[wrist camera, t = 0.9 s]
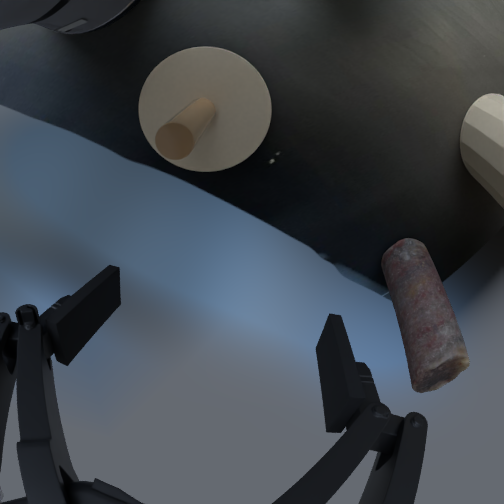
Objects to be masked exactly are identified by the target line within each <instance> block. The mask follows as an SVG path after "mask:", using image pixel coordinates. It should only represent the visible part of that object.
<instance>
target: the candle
mask: <svg viewBox="0 0 504 504" xmlns="http://www.w3.org/2000/svg"><path fill="white" fill-rule="evenodd" d="M381 266H382V270H383V273H384V276H385V280H386V283H387V286H388V289H389V293H390V296H391V299H392V302H393V306H394V309H395V312H396V316H397V320H398V324H399V327H400V331H401V336H402V339H403V344H404V348H405V353H406V357H407V362H408V368H409V373H410V378H411V384H412V388H413V390H414V391H416V392H420V393H423V392H427V391H432V390H437V389H439V388H440V387H442V386H444V385H445V384H447V383H448V382H450V381H452V380H453V379H455V378H456V377H457V376H458V375H459V374H460V372H462V371H464V370H466V369H467V367H468V366H469V362H470V361H469V357H468V354H467V350H466V346H465V343H464V340H463V337H462V334H461V331H460V329H459V326H458V323H457V320H456V317H455V314H454V311H453V309H452V306H451V304H450V302H449V299H448V297H447V294H446V292H445V289H444V287H443V284H442V282H441V280H440V277H439V275H438V272H437V270H436V268H435V265H434V263H433V261H432V259H431V257H430V255H429V253H428V251H427V249H426V247H425V245H424V244H423V243H422V242H420V241H418V240H415V239H411V238H405V239H403V240H399V241H398V242H397V243H396V244H394V245H393V246H391V247H390V248H389V249H388V250H387V251H386V252H385V253H384V254H383V257H382V261H381Z"/></svg>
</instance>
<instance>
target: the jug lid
mask: <svg viewBox="0 0 504 504" xmlns="http://www.w3.org/2000/svg"><path fill="white" fill-rule="evenodd" d="M271 112H272V105H271V97H270V93H269V90H268V87H267V85H266V83H265V81H264V79H263V77H262V76H261V74H260V73H259V72H258V70H257V69H256V68H255V67H254V66H253V65H252V64H251V63H250V62H249V61H247V60H246V59H244V58H243V57H241V56H240V55H238V54H236V53H234V52H231V51H228V50H225V49H222V48H216V47H194V48H189V49H185V50H182V51H179V52H177V53H175V54H173V55H171V56H169V57H168V58H166V59H165V60H163V61H162V62H161V63H160V64H159V65H157V66H156V67H155V68H154V70H153V71H152V72H151V73H150V75H149V76H148V78H147V80H146V81H145V83H144V86H143V88H142V91H141V94H140V99H139V119H140V124H141V127H142V130H143V132H144V135H145V137H146V138H147V140H148V142H149V143H150V145H151V146H152V147H153V148H154V150H155V151H156V152H157V153H158V154H160V155H161V156H162V157H163V158H164V159H166V160H167V161H169V162H171V163H172V164H175V165H177V166H179V167H182V168H184V169H188V170H192V171H200V172H212V171H219V170H223V169H227V168H230V167H232V166H235V165H237V164H239V163H241V162H242V161H244V160H245V159H247V158H248V157H249V156H250V155H251V154H253V153H254V152H255V150H256V149H257V148H258V147H259V146H260V144H261V143H262V141H263V140H264V138H265V136H266V134H267V132H268V129H269V126H270V121H271Z"/></svg>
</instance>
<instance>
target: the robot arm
mask: <svg viewBox="0 0 504 504" xmlns="http://www.w3.org/2000/svg"><path fill="white" fill-rule="evenodd" d="M139 1H140V0H0V30H1V29H5V28H10V27H14V26H19V25H25V24H30V23H34V24H37V25H40V26H43V27H45V28H48V29H51V30H53V31H56V32H60V33H65V34H78V33H86V32H92V31H96V30H99V29H101V28H104V27H106V26H108V25H110V24H112V23H114V22H115V21H117V20H118V19H120V18H121V17H123V16H124V15H125V14H127V13H128V12H129V11H130V10H131V9H132V8H134V7H135V6H136V5H137V4H138V3H139ZM120 305H121V298H120V269H119V267H116V266H112V265H109V266H108V267H106V268H105V269H104V270H103V271H101V272H100V273H99V274H98V275H96V276H95V277H94V278H93V279H92V280H90V281H89V282H88V283H86V284H85V285H84V286H83V287H82V288H80V289H79V290H78V291H77V292H76V293H74V294H73V295H72V296H70V295H67V296H65V297H62V298H60V299H59V300H58V301H57V302H56V303H55V304H53V305H52V306H51V307H50V308H49V309H47V310H46V311H45V312H44V313H43V314H42V315H40V316H39V314H38V310H37V308H36V306H34V305H31V304H26V305H23V306H20V307H19V308H18V309H17V310H16V312H15V314H16V317H17V321H18V323H15V322H11V319H10V316H9V315H8V314H7V313H4V312H2V313H0V471H1V463H2V452H3V444H4V436H5V429H6V423H7V418H8V412H9V407H10V402H11V398H12V394H13V389H14V385H15V381H16V378H17V408H18V421H19V429H20V442H17V454H18V460H19V466H20V471H21V476H22V480H23V485H24V489H25V493H26V497H22V498H19V499H15V500H11V501H7V502H3V503H1V500H2V499H3V492H2V491H1V488H0V504H143V503H141V502H139V501H138V500H136V499H134V498H133V497H131V496H130V495H128V494H126V493H125V492H124V491H122V490H121V489H119V488H116V487H114V486H112V485H110V484H107V483H105V482H103V481H101V480H99V479H96V478H95V480H94V482H88V481H79V479H78V477H77V475H76V473H75V471H74V469H73V467H72V463H71V460H70V456H69V453H68V449H67V446H66V442H65V438H64V433H63V429H62V424H61V420H60V415H59V409H58V404H57V398H56V391H55V385H54V377H53V368H52V360H51V356H52V355H53V353H54V354H55V357H56V360H57V361H58V362H60V363H62V364H64V365H66V366H68V365H69V363H70V362H71V361H72V360H73V359H74V357H75V356H76V355H77V354H78V353H79V351H80V350H81V349H82V348H83V347H84V346H85V344H86V343H87V342H88V341H89V340H90V339H91V337H92V336H93V335H94V334H95V333H96V332H97V330H98V329H99V328H100V327H101V326H102V325H103V324H104V322H105V321H106V320H107V319H108V318H109V317H110V316H111V314H112V313H113V312H114V311H115V310H116V309H117V308H118V307H119V306H120ZM316 354H317V361H318V369H319V376H320V383H321V391H322V399H323V407H324V416H325V424H326V432H332V433H341V432H342V431H343V429H344V428H345V427H346V429H347V431H346V432H345V433H344V435H343V436H342V437H341V438H340V439H339V440H338V441H337V442H336V443H335V445H334V446H333V447H332V448H331V449H330V450H329V451H328V452H327V453H326V454H325V455H324V456H323V457H322V458H321V459H320V460H319V461H318V462H317V463H316V464H315V465H314V466H313V467H312V468H311V469H310V470H309V471H308V472H307V473H306V474H305V475H304V476H303V477H302V478H301V479H300V480H299V481H298V482H297V483H295V484H294V485H293V486H292V487H291V488H290V489H289V490H288V491H286V492H285V493H284V494H283V495H282V496H281V497H279V498H278V499H277V500H276V501H275V502H273V503H272V504H326V502H327V501H328V500H329V499H330V498H331V497H332V496H333V495H334V494H335V493H336V491H337V490H338V489H339V488H340V487H341V485H342V484H343V483H344V482H345V481H346V480H347V478H348V477H349V476H350V475H351V473H352V472H353V471H354V470H355V468H356V467H357V466H358V465H359V463H360V462H361V461H362V459H363V458H364V457H365V455H366V454H367V453H368V451H369V450H373V451H377V452H378V453H377V456H376V459H375V462H374V465H373V468H372V471H371V473H370V476H369V479H368V482H367V484H366V487H365V489H364V492H363V494H362V497H361V499H360V502H359V504H414V500H415V496H416V492H417V488H418V483H419V479H420V474H421V469H422V463H423V457H424V451H425V444H426V436H427V427H428V424H427V421H426V418H425V417H424V416H423V415H421V414H419V413H417V412H411V413H409V414H407V416H406V417H405V418H404V417H400V416H397V415H393V414H391V412H390V410H389V408H388V407H387V406H386V405H385V404H382V403H381V402H380V399H379V396H378V393H377V390H376V387H375V384H374V380H373V378H372V374H371V372H370V369H369V368H368V367H367V365H366V364H365V363H362V362H355V358H354V355H353V352H352V349H351V345H350V342H349V339H348V336H347V332H346V329H345V327H344V323H343V320H342V317H341V315H335V314H329V316H328V318H327V321H326V323H325V326H324V329H323V331H322V334H321V336H320V339H319V341H318V344H317V346H316Z"/></svg>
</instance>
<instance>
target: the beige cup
mask: <svg viewBox="0 0 504 504" xmlns="http://www.w3.org/2000/svg"><path fill="white" fill-rule="evenodd" d="M460 151H461V156H462V160H463V162H464V165H465V167H466V168H467V170H468V171H469V173H470V174H471V175H472V176H473V177H474V178H475V179H476V180H477V181H478V182H479V183H480V184H481V185H482V186H483V187H484V188H485V189H486V190H487V191H488V192H489V193H490V194H491V195H492V197H493V198H494V199H495V200H496V201H497V202H498V203H499V204H500V205H501V207H502V208H503V209H504V96H502V95H500V94H494V93H493V94H486V95H484V96H482V97H480V98H479V99H477V100H476V101H475V102H474V103H473V104H472V105H471V107H470V108H469V110H468V111H467V113H466V115H465V118H464V120H463V123H462V127H461V133H460Z"/></svg>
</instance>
